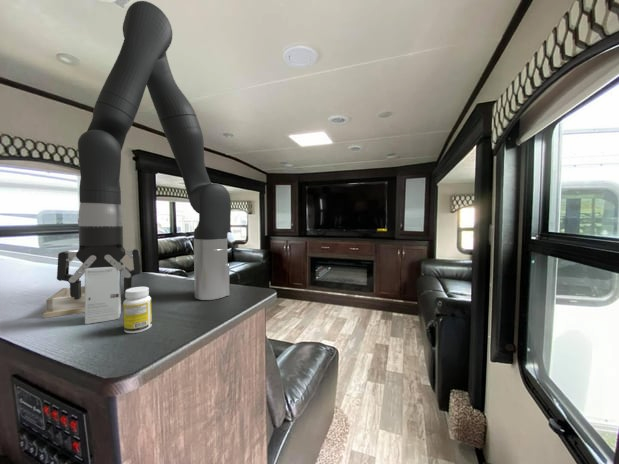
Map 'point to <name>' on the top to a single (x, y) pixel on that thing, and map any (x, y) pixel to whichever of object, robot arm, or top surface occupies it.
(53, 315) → the wooden tray
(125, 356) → the top surface
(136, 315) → the supplement bottle
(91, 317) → the skincare box
